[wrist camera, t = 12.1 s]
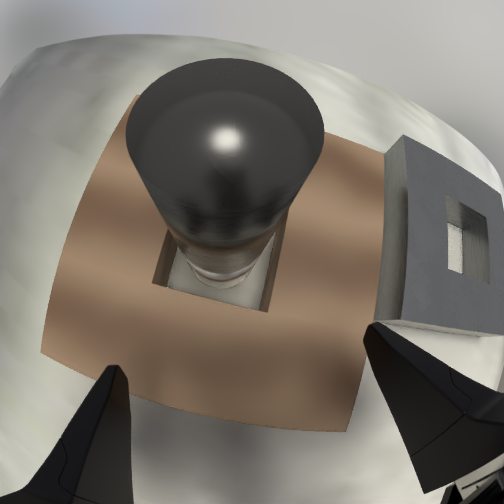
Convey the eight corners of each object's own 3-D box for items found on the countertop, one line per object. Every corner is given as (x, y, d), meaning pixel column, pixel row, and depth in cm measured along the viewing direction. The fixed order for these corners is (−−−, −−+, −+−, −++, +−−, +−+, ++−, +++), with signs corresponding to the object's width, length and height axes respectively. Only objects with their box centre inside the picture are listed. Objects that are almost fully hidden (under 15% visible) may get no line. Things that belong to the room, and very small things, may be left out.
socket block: (480, 336, 18) (506, 335, 15) (372, 320, 18) (400, 319, 14) (479, 206, 22) (500, 194, 18) (383, 155, 21) (403, 134, 18)
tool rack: (324, 414, 16) (345, 431, 12) (68, 348, 15) (40, 352, 11) (362, 176, 20) (383, 153, 17) (145, 123, 19) (136, 94, 16)
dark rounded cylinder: (262, 274, 17) (359, 171, 5) (203, 297, 17) (150, 240, 4) (239, 218, 18) (274, 49, 6) (182, 239, 17) (116, 86, 5)
